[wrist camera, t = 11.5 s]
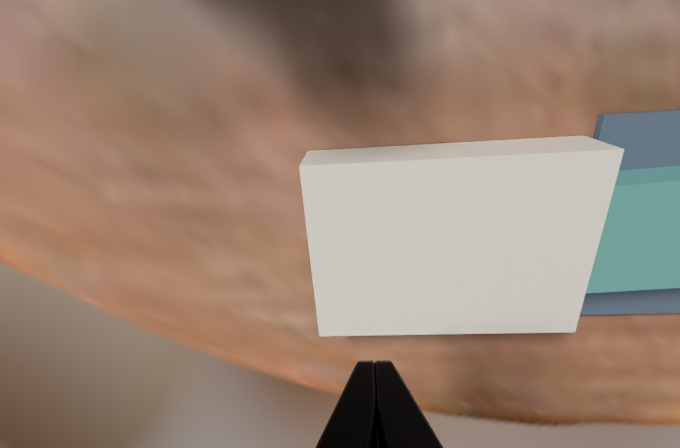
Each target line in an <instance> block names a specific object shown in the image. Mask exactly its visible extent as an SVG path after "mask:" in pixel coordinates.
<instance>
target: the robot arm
mask: <svg viewBox="0 0 680 448" xmlns="http://www.w3.org/2000/svg"><path fill="white" fill-rule="evenodd" d="M377 433H378V436H377ZM316 448H443V446H442V445H441V443H440V442H439V440H438V438H437V437H436V435H435V433H434V431H433V430H432V428H431V426H430V425H429V423H428V421H427V420H426V418H425V416H424V415H423V413H422V411H421V410H420V408H419V406H418V405H417V403H416V401H415V400H414V398H413V396H412V395H411V393H410V391H409V390H408V388H407V386H406V384H405V383H404V381H403V379H402V378H401V376H400V374H399V373H398V371H397V369H396V368H395V366H394V364H393V363H392V362H391V361H389V360H378V361H376V362H375V364H374V361H358V362H357V364H356V366H355V368H354V370H353V372H352V374H351V376H350V378H349V380H348V382H347V384H346V386H345V388H344V390H343V392H342V395H341V397H340V399H339V401H338V403H337V405H336V407H335V409H334V411H333V413H332V415H331V417H330V419H329V421H328V423H327V425H326V428H325V429H324V432H323V433H322V435H321V438H320V440H319V442H318V444H317V446H316Z"/></svg>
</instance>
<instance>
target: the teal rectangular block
mask: <svg viewBox="0 0 680 448" xmlns="http://www.w3.org/2000/svg"><path fill="white" fill-rule="evenodd" d="M670 288H680V165H679V166H668V167H657V168H646V169H635V170H624V171H619V172H618V176H617V179H616V183H615V187H614V190H613V194H612V198H611V201H610V205H609V209H608V213H607V216H606V220H605V224H604V227H603V231H602V235H601V238H600V242H599V246H598V249H597V253H596V257H595V261H594V264H593V268H592V272H591V275H590V279H589V283H588V286H587V290H586V294H587V293H603V292H620V291H637V290H653V289H670Z"/></svg>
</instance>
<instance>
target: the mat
mask: <svg viewBox="0 0 680 448" xmlns="http://www.w3.org/2000/svg"><path fill="white" fill-rule="evenodd" d="M594 139H596V140H599V141H602V142H605V143H608V144H611V145H614V146H617V147H620V148H623V149H625V150H624V153H623V157H622V161H621V164H620V168H619V171H624V170H635V169H646V168H657V167H668V166H679V165H680V109H678V110H661V111H645V112H628V113H611V114H599V117H598V122H597V126H596V130H595V135H594ZM664 313H680V288H670V289H653V290H637V291H620V292H603V293H587V294H585V298H584V301H583V305H582V309H581V312H580V315H611V314H664Z"/></svg>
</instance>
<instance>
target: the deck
mask: <svg viewBox="0 0 680 448" xmlns="http://www.w3.org/2000/svg"><path fill="white" fill-rule="evenodd" d="M624 150H625V149H623V148H620V147H617V146H614V145H611V144H608V143H605V142H602V141H599V140H596V139H593V138H590V137H587V136H566V137H548V138H530V139H512V140H494V141H476V142H458V143H440V144H422V145H404V146H386V147H368V148H350V149H332V150H314V151H308V152H307V153H306V155H305V157H304V159H303V160H302V162H301V164H300V165H299V170H300V178H301V186H302V195H303V203H304V212H305V220H306V229H307V237H308V245H309V254H310V262H311V271H312V279H313V287H314V296H315V304H316V313H317V321H318V329H319V336H371V335H436V334H502V333H568V332H575V331H576V327H577V323H578V320H579V316H580V312H581V309H582V305H583V301H584V298H585V294H586V290H587V286H588V283H589V279H590V275H591V272H592V268H593V264H594V261H595V257H596V253H597V249H598V246H599V242H600V238H601V235H602V231H603V227H604V224H605V220H606V216H607V213H608V209H609V205H610V201H611V198H612V194H613V190H614V187H615V183H616V179H617V176H618V172H619V168H620V164H621V161H622V157H623V153H624Z"/></svg>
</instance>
